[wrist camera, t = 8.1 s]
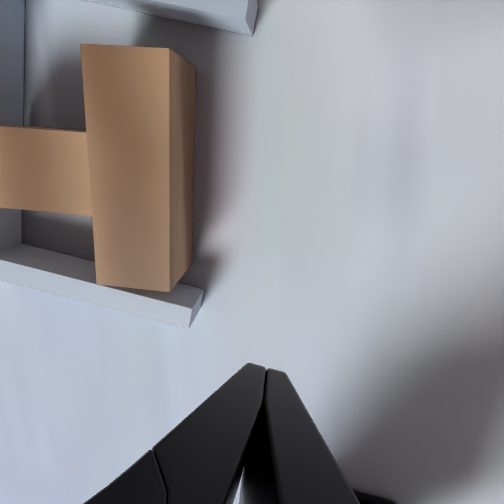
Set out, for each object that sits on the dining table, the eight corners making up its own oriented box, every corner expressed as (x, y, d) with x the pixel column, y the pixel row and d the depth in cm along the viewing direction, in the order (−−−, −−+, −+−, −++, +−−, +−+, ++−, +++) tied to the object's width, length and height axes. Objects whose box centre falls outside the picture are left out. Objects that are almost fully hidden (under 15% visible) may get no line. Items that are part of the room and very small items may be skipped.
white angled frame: (258, 6, 16) (251, -16, 14) (200, 307, 21) (188, 329, 19) (1, -48, 17) (-47, -78, 15) (2, 257, 22) (-34, 271, 20)
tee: (196, 67, 18) (169, 48, 14) (192, 263, 21) (169, 292, 17) (19, 57, 18) (-53, 36, 15) (41, 248, 21) (-14, 272, 18)
